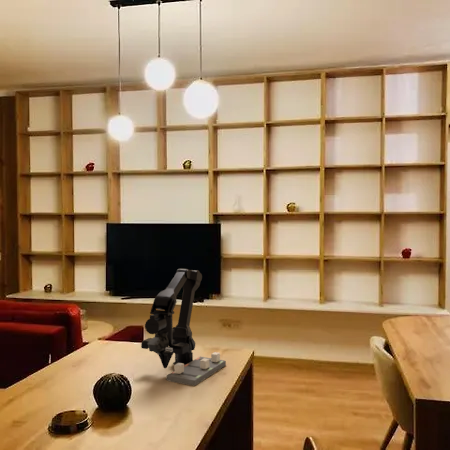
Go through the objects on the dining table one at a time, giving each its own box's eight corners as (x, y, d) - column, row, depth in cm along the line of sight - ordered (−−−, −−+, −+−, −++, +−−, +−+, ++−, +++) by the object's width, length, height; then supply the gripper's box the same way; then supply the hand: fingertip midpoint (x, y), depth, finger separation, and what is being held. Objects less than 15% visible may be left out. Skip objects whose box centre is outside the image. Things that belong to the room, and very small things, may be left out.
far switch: (211, 361, 197) (211, 354, 197) (214, 359, 200) (214, 352, 200) (216, 362, 196) (216, 354, 196) (220, 360, 199) (220, 352, 199)
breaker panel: (166, 380, 182) (166, 375, 182) (200, 361, 205) (199, 356, 205) (194, 385, 177) (194, 380, 177) (225, 365, 199) (225, 360, 199)
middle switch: (200, 368, 189) (200, 360, 189) (204, 365, 192) (204, 358, 192) (205, 369, 188) (205, 361, 188) (209, 366, 191) (209, 359, 191)
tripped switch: (174, 372, 184) (174, 365, 184) (178, 370, 186) (178, 362, 186) (179, 373, 183) (179, 365, 183) (184, 371, 185) (183, 363, 185)
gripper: (132, 329, 184) (132, 370, 184) (174, 335, 175) (174, 378, 176) (149, 323, 194) (149, 362, 194) (190, 328, 185) (190, 369, 186)
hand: (165, 368), depth 187 cm, fingers closed
